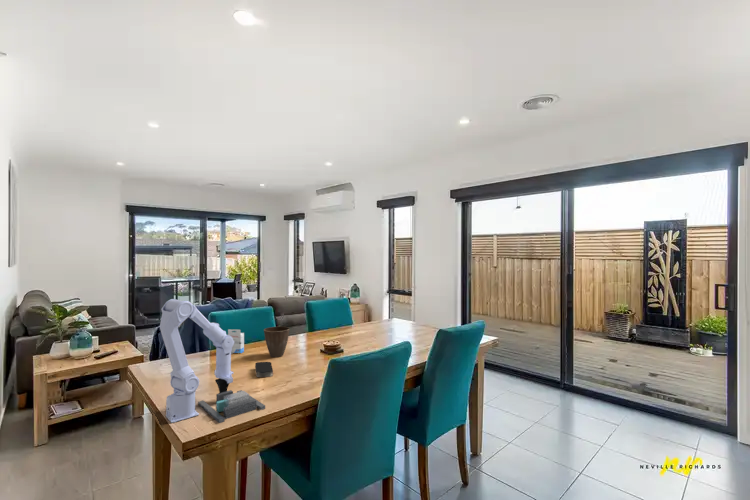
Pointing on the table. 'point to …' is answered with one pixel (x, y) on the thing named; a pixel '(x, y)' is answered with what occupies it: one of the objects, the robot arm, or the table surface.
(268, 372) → the black sponge
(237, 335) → the ink box
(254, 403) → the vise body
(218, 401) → the sliding jaw
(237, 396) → the steel block
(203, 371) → the table surface
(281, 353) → the plant pot
